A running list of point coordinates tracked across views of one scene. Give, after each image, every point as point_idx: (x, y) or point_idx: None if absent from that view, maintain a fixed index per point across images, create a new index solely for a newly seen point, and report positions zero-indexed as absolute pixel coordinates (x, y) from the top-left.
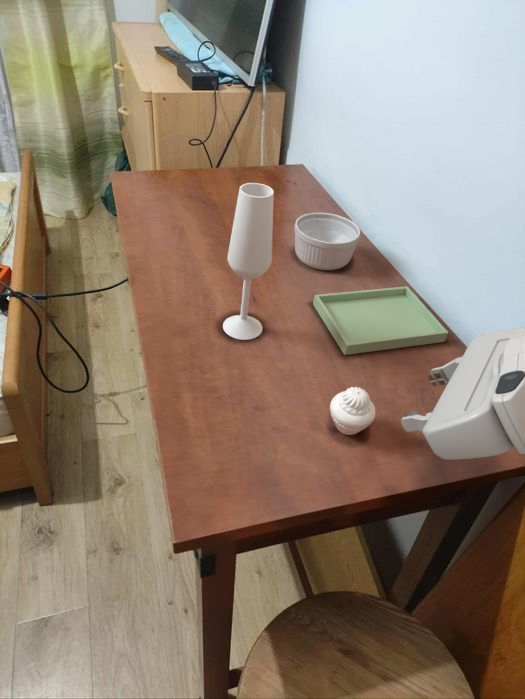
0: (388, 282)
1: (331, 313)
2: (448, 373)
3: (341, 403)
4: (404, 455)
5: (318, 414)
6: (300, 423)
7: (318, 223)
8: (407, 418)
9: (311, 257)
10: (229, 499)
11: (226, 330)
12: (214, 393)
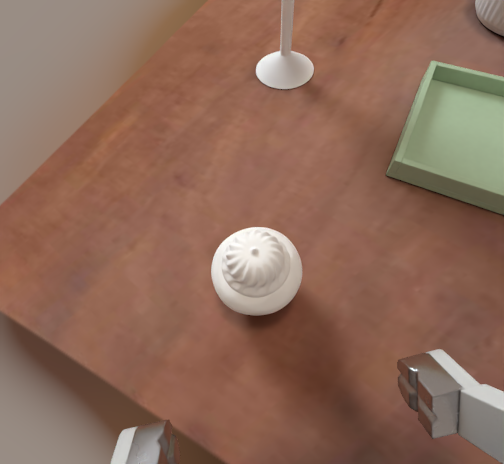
0: None
1: (435, 102)
2: (477, 424)
3: (226, 247)
4: (292, 404)
5: None
6: (203, 232)
7: None
8: (114, 456)
9: (492, 1)
10: (20, 265)
11: (259, 64)
12: (158, 132)
